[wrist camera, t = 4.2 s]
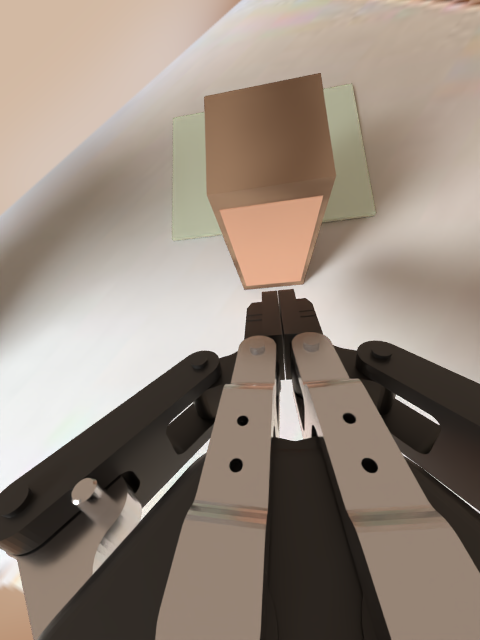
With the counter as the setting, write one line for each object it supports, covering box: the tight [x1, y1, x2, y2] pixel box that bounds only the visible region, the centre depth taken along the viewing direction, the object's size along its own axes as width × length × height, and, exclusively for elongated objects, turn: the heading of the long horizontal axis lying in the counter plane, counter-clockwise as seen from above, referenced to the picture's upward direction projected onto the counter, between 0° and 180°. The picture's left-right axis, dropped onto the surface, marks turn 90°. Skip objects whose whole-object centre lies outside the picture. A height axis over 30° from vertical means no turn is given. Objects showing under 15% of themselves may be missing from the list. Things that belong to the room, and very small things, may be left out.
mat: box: [172, 84, 376, 241], centre depth 24 cm, size 18×14×1 cm
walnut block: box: [204, 73, 336, 290], centre depth 16 cm, size 5×5×12 cm
